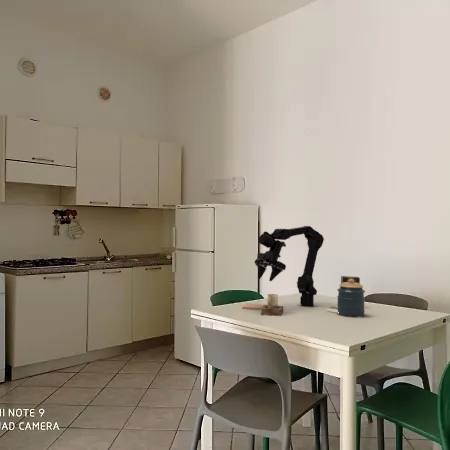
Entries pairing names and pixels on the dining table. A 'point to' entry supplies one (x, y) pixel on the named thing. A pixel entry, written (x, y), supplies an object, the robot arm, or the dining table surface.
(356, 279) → the coffee box
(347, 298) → the canister
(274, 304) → the birch peg
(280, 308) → the walnut pocket block
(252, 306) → the terracotta tile
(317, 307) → the dining table surface
